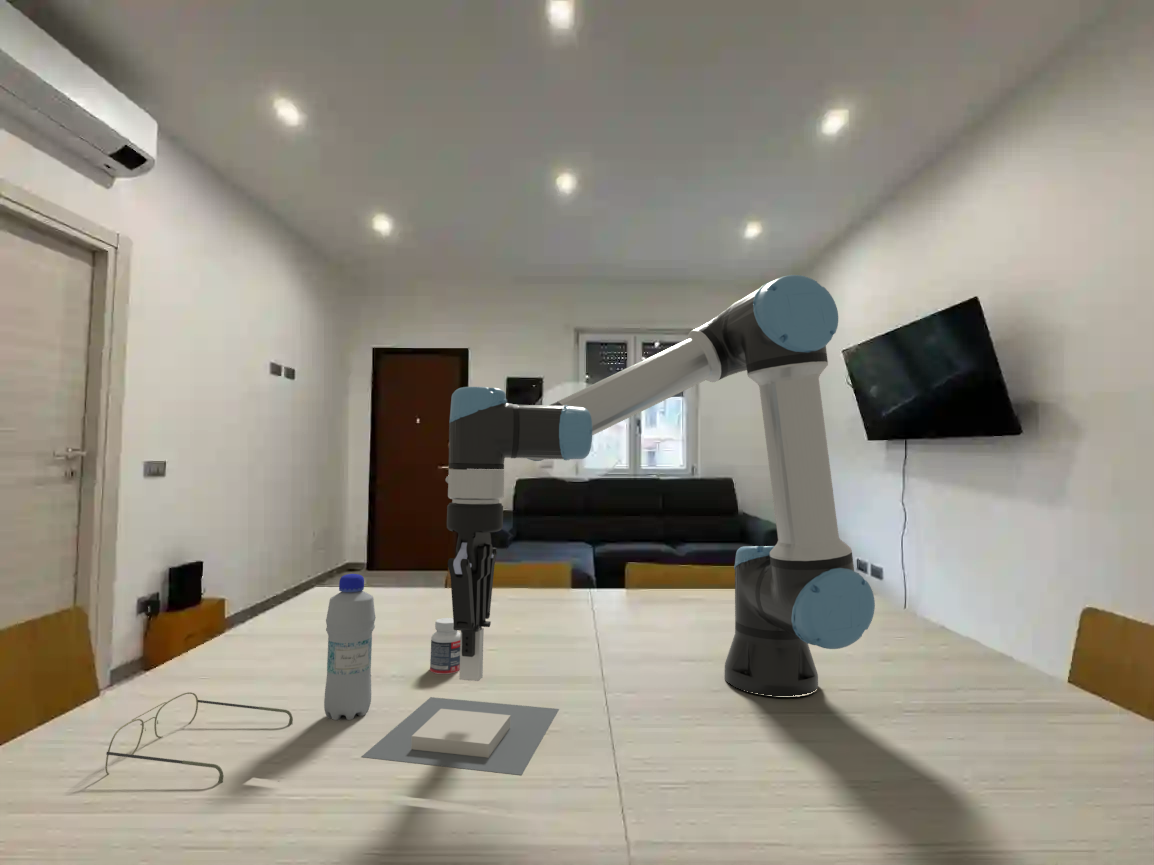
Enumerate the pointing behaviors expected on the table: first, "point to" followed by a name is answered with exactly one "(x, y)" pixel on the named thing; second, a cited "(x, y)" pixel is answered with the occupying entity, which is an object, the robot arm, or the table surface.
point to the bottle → (349, 649)
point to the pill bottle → (445, 648)
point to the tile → (461, 733)
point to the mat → (505, 758)
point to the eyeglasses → (188, 723)
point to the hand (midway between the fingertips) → (470, 678)
